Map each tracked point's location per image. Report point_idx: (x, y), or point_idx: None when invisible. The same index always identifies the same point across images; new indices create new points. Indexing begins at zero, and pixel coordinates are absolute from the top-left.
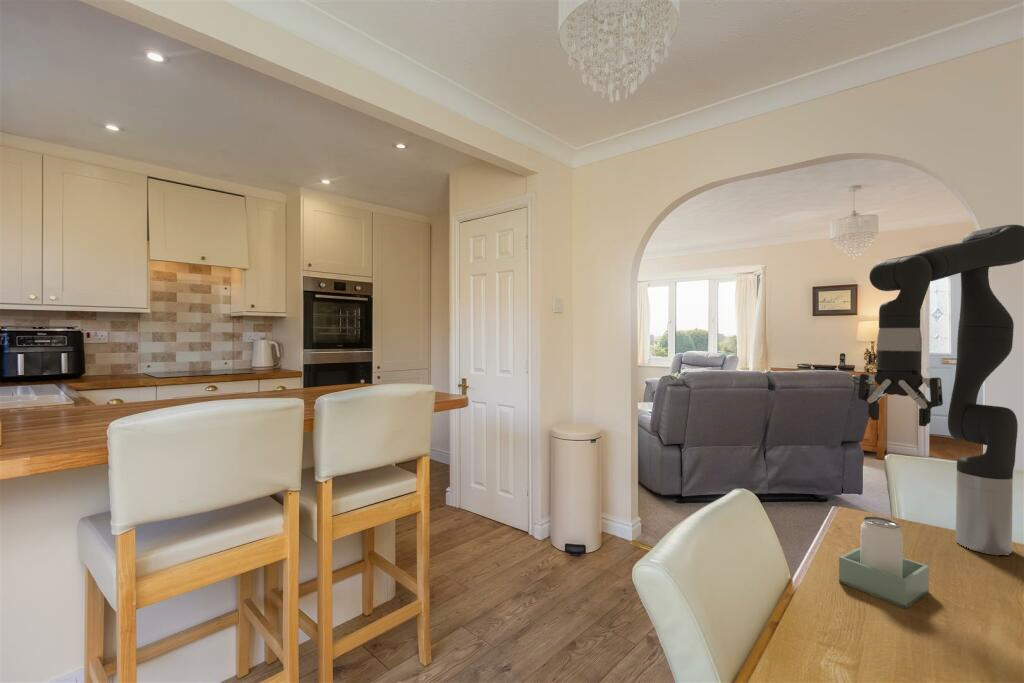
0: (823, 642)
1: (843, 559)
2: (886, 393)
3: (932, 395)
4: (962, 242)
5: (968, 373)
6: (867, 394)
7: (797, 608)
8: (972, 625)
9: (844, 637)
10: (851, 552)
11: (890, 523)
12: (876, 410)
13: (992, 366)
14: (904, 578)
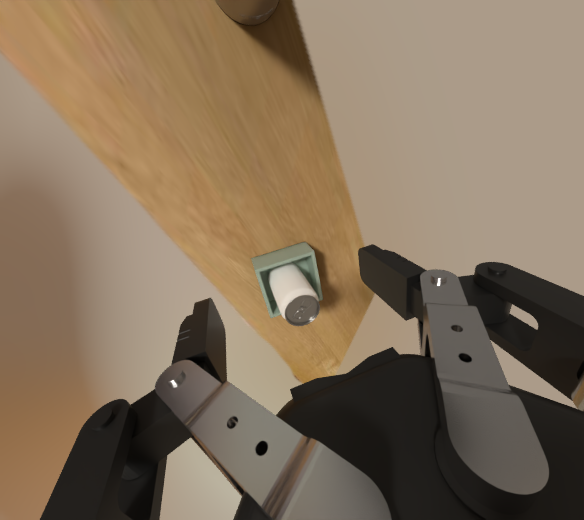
0: (317, 363)
1: (274, 316)
2: (240, 391)
3: (525, 357)
4: None
5: None
6: (125, 442)
7: (286, 356)
8: (345, 260)
9: (319, 350)
10: (266, 299)
11: (305, 299)
12: (219, 346)
13: None
14: (320, 297)
